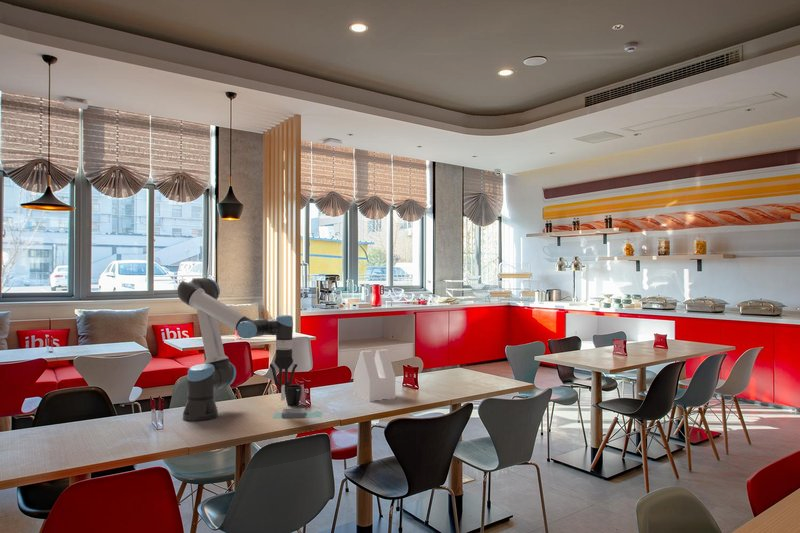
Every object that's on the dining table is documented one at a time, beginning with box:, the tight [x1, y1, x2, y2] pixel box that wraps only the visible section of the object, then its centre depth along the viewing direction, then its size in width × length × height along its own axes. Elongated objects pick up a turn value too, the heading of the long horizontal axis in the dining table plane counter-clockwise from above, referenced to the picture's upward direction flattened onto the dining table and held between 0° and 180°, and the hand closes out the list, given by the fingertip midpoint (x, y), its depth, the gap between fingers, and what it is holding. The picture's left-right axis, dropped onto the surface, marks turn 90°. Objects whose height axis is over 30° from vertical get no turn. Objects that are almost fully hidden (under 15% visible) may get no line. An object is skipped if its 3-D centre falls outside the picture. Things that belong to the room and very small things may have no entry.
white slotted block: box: [352, 348, 396, 402], centre depth 297 cm, size 19×15×25 cm
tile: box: [281, 407, 306, 419], centre depth 254 cm, size 2×9×10 cm
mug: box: [285, 384, 303, 407], centre depth 274 cm, size 8×12×10 cm
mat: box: [272, 411, 323, 419], centre depth 254 cm, size 22×10×1 cm, turn 97°
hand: (282, 399), depth 254 cm, fingers closed
